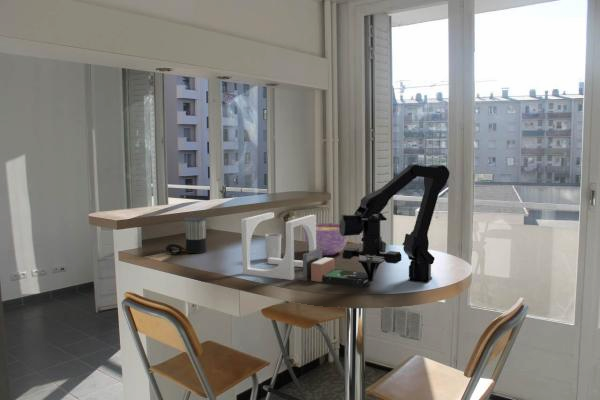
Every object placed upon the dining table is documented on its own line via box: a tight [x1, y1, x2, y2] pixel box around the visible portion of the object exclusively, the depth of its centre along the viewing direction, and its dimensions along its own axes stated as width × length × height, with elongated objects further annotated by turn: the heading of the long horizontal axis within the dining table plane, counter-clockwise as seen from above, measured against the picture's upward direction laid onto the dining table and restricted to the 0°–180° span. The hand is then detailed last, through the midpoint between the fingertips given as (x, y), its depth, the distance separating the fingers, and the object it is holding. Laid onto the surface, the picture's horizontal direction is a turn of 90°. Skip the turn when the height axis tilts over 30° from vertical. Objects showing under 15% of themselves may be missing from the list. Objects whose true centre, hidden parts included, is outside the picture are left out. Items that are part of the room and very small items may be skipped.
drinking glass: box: [264, 233, 282, 261], centre depth 206 cm, size 7×7×10 cm
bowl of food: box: [302, 222, 349, 256], centre depth 216 cm, size 20×20×12 cm
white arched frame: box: [240, 211, 317, 281], centre depth 187 cm, size 20×20×20 cm
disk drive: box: [321, 268, 375, 288], centre depth 172 cm, size 10×3×15 cm
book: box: [310, 256, 336, 283], centre depth 176 cm, size 4×10×6 cm, turn 150°
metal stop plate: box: [297, 248, 323, 282], centre depth 178 cm, size 4×12×9 cm, turn 152°
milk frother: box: [165, 216, 207, 255], centre depth 221 cm, size 14×16×15 cm
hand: (371, 280), depth 168 cm, fingers closed
